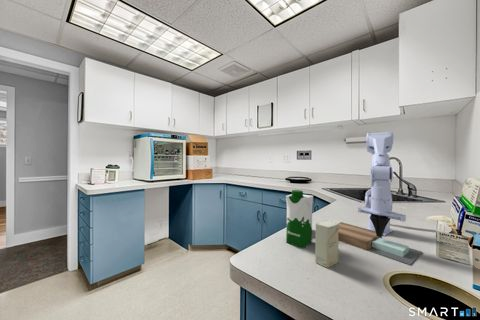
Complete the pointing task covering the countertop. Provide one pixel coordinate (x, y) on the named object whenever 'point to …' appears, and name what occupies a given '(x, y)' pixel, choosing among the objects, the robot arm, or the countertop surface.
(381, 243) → the mint green flat block
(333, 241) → the skincare box
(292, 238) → the milk carton
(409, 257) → the mat
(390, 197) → the robot arm
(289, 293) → the countertop surface
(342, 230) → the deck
